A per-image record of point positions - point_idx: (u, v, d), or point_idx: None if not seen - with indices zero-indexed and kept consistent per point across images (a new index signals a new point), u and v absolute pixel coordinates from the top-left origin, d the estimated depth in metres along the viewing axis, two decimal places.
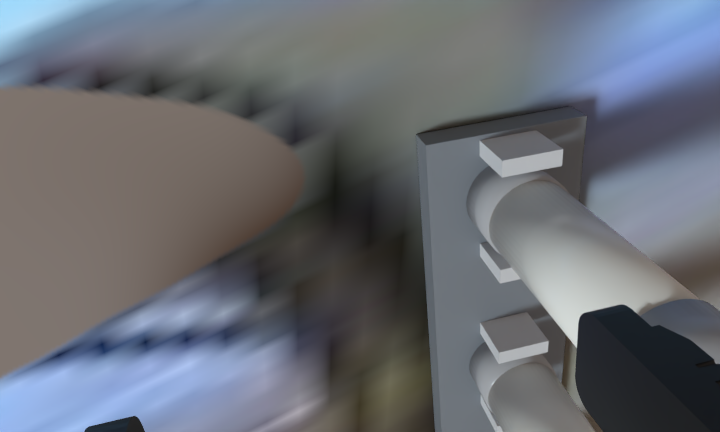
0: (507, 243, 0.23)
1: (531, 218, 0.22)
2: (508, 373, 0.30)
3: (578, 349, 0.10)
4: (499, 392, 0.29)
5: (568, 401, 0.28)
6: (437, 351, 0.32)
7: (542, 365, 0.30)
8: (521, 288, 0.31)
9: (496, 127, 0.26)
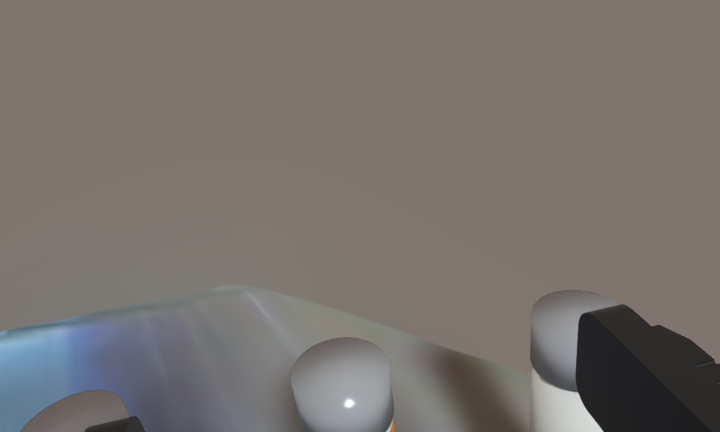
0: None
1: None
2: None
3: (578, 349, 0.10)
4: None
5: None
6: None
7: None
8: None
9: None
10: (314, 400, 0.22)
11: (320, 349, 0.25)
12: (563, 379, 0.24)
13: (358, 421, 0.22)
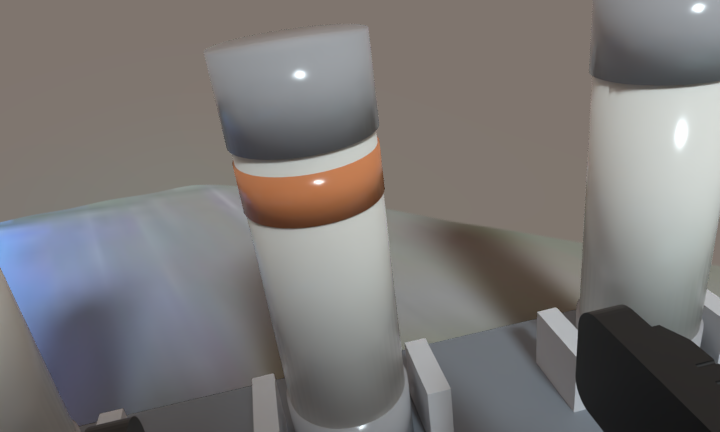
0: None
1: None
2: (297, 410, 0.18)
3: (578, 349, 0.10)
4: (318, 410, 0.17)
5: None
6: None
7: None
8: None
9: None
10: (236, 54, 0.13)
11: (259, 35, 0.15)
12: (653, 65, 0.15)
13: (315, 92, 0.13)
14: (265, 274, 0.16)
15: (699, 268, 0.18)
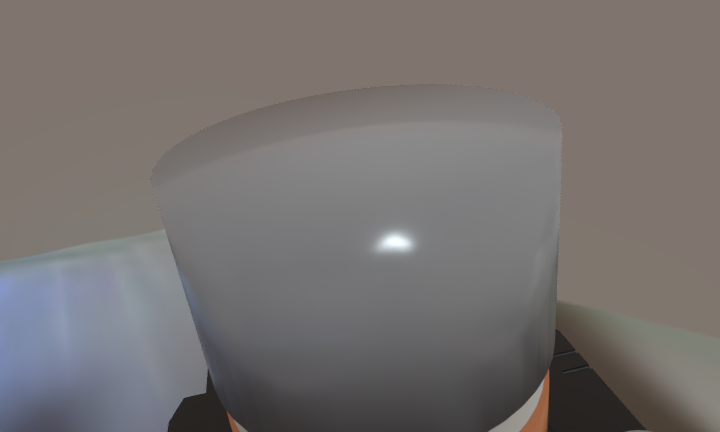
0: None
1: None
2: None
3: None
4: None
5: None
6: None
7: None
8: None
9: None
10: (230, 211, 0.04)
11: (282, 110, 0.07)
12: None
13: (451, 314, 0.05)
14: None
15: None
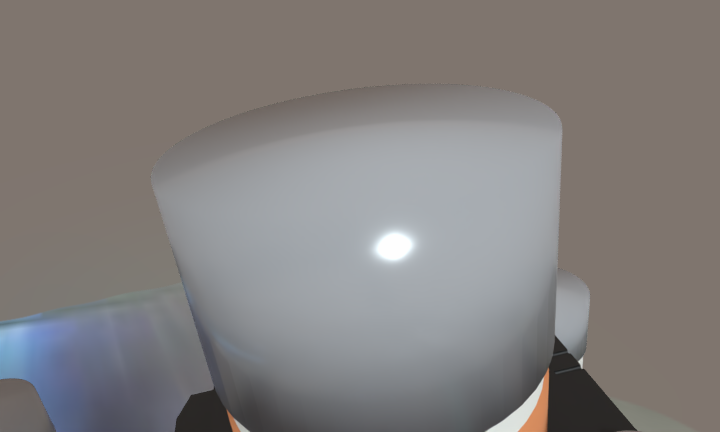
0: None
1: None
2: None
3: None
4: None
5: None
6: None
7: None
8: None
9: None
10: (231, 209, 0.04)
11: (282, 109, 0.07)
12: None
13: (451, 312, 0.05)
14: None
15: None
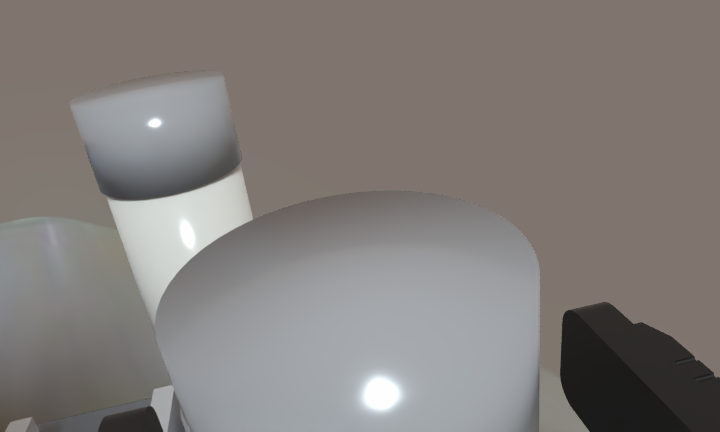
0: None
1: None
2: None
3: (562, 346, 0.10)
4: None
5: None
6: None
7: None
8: None
9: None
10: (229, 385, 0.05)
11: (278, 224, 0.08)
12: (105, 179, 0.15)
13: None
14: None
15: None
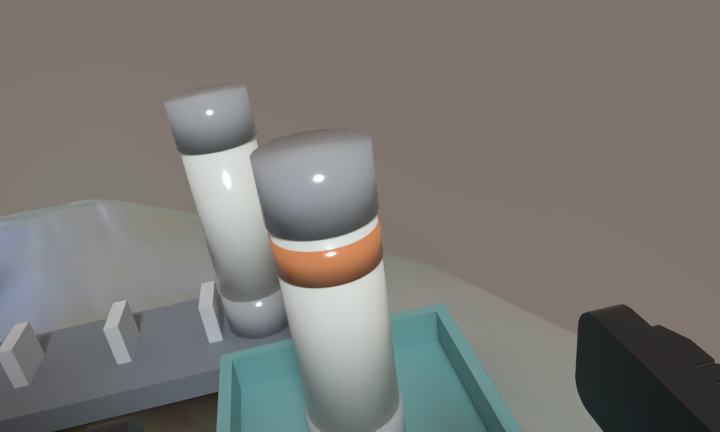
0: None
1: None
2: (314, 423, 0.23)
3: (578, 349, 0.10)
4: (331, 423, 0.22)
5: None
6: (25, 415, 0.29)
7: None
8: None
9: None
10: (276, 167, 0.18)
11: (288, 138, 0.20)
12: (183, 143, 0.28)
13: (332, 194, 0.18)
14: (292, 319, 0.21)
15: (252, 253, 0.30)
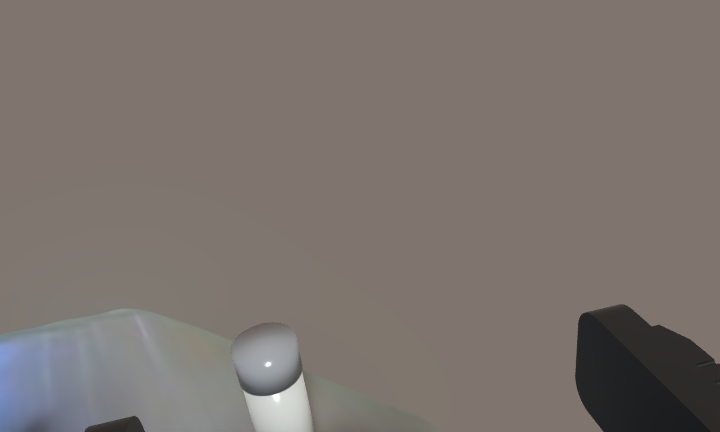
0: None
1: None
2: None
3: (578, 349, 0.10)
4: None
5: None
6: None
7: None
8: None
9: None
10: None
11: None
12: (246, 386, 0.35)
13: None
14: None
15: None
